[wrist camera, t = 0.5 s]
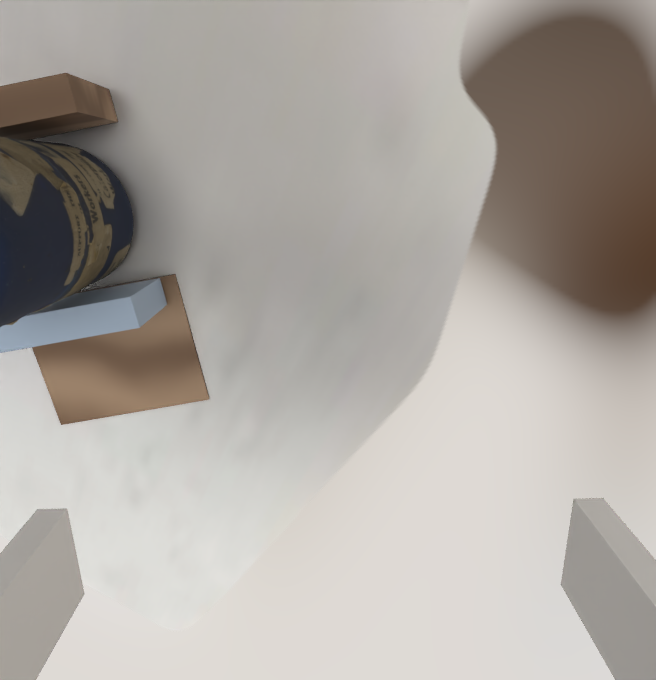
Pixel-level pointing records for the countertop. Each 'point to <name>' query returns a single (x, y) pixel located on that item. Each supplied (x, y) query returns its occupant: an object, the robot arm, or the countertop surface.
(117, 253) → the canister
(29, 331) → the tie jaw
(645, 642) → the robot arm
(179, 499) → the countertop surface
